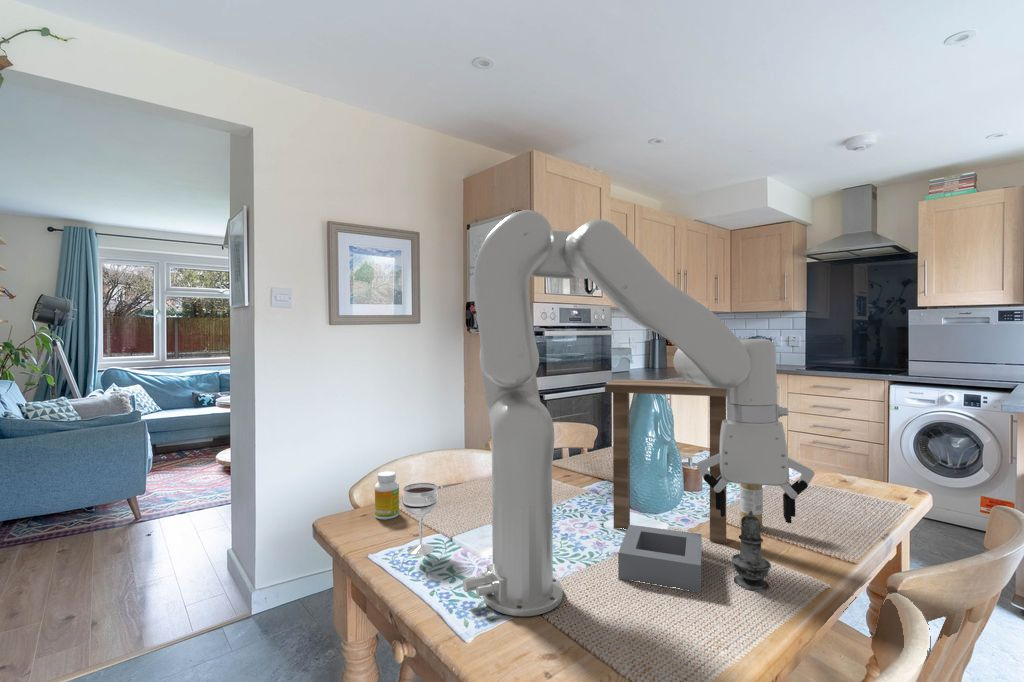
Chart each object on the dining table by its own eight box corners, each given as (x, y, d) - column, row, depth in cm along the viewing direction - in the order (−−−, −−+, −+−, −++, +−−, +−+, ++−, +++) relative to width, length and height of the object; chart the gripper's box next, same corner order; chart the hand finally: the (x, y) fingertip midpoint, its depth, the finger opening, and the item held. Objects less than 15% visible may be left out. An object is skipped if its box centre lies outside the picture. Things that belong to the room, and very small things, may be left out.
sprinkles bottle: (752, 521, 107) (752, 460, 107) (768, 529, 103) (768, 465, 103) (734, 523, 106) (734, 461, 106) (749, 531, 102) (749, 467, 102)
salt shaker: (776, 594, 77) (776, 518, 77) (736, 590, 79) (736, 516, 78) (764, 576, 83) (764, 505, 83) (727, 572, 84) (727, 503, 84)
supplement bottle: (395, 520, 110) (395, 476, 109) (372, 520, 110) (371, 476, 110) (401, 511, 115) (401, 470, 115) (378, 511, 115) (378, 470, 115)
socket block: (701, 593, 78) (701, 565, 78) (618, 579, 82) (618, 552, 82) (701, 558, 90) (701, 534, 90) (629, 547, 95) (629, 524, 94)
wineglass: (444, 552, 93) (443, 489, 93) (409, 561, 90) (409, 495, 89) (431, 539, 99) (430, 480, 99) (398, 547, 95) (397, 486, 95)
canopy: (728, 563, 88) (728, 388, 87) (605, 545, 96) (604, 384, 95) (725, 537, 99) (725, 382, 98) (615, 523, 107) (615, 379, 106)
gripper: (807, 411, 81) (810, 514, 81) (696, 409, 87) (698, 504, 87) (817, 419, 74) (820, 532, 74) (695, 416, 80) (698, 519, 81)
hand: (754, 517), depth 81 cm, fingers open, 9 cm apart
